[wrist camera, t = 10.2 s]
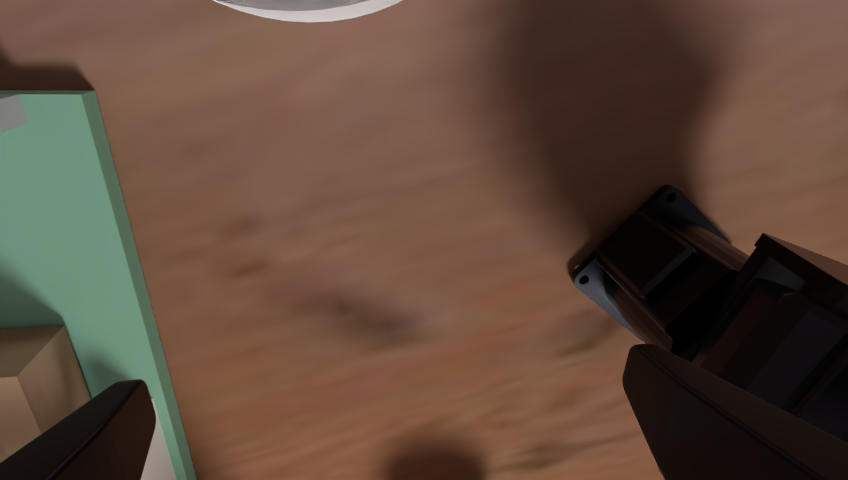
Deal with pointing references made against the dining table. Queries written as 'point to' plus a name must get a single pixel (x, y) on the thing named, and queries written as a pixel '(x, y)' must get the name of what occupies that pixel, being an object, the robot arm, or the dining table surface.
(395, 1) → the cup
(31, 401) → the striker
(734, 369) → the robot arm
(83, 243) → the pitch
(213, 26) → the dining table surface
